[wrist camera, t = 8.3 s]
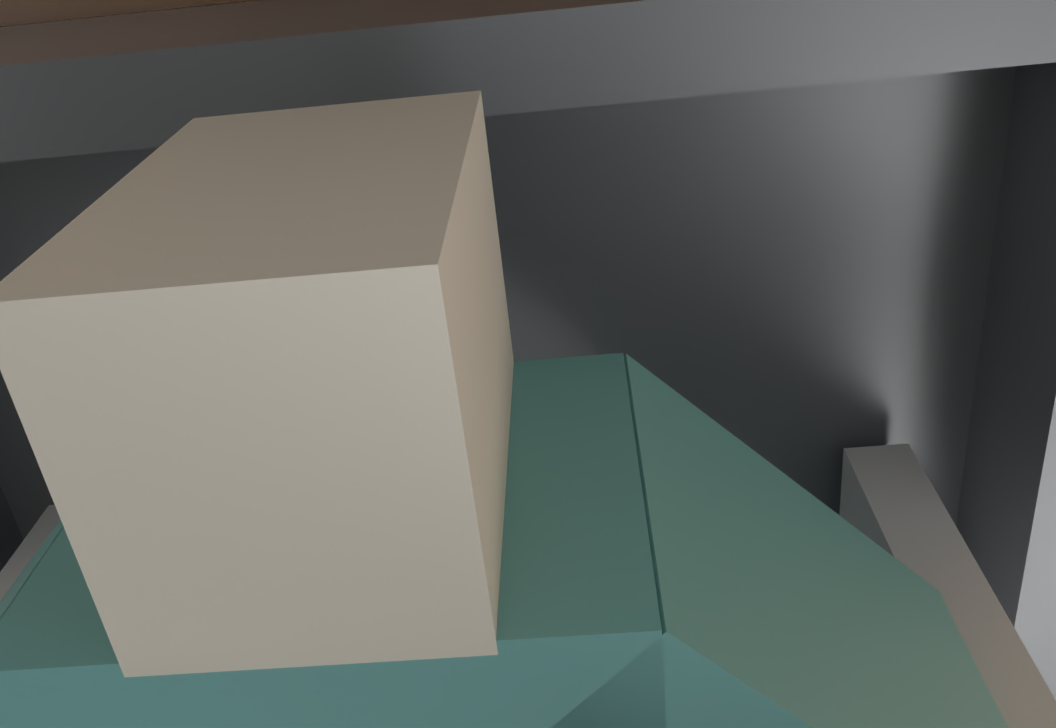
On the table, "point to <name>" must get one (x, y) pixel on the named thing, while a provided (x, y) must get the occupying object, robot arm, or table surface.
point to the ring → (402, 477)
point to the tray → (669, 209)
